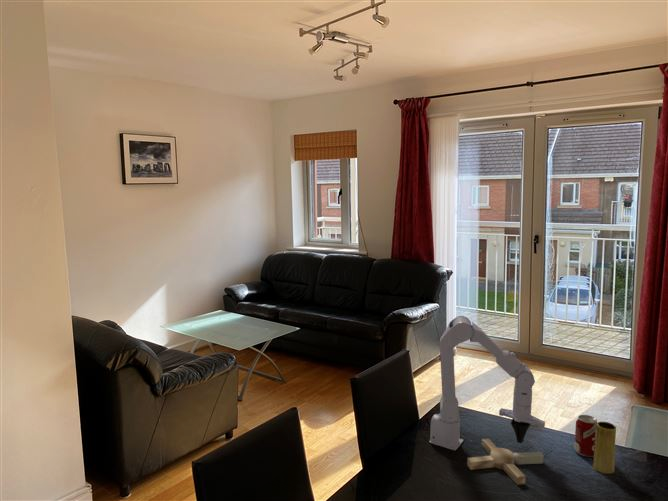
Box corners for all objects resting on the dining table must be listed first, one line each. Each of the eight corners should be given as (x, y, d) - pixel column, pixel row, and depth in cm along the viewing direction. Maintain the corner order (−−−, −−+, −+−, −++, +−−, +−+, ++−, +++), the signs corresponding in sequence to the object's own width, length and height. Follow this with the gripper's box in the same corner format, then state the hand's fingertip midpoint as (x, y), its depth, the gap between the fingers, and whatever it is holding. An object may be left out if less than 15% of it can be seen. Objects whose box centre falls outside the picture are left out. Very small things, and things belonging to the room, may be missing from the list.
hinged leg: (514, 464, 157) (515, 456, 157) (511, 460, 160) (511, 452, 159) (543, 463, 158) (543, 455, 157) (539, 459, 160) (539, 451, 160)
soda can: (574, 456, 162) (577, 421, 160) (573, 446, 168) (575, 412, 167) (598, 460, 159) (600, 425, 158) (595, 450, 166) (598, 415, 164)
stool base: (486, 488, 145) (486, 477, 144) (454, 449, 166) (454, 439, 166) (532, 483, 147) (532, 472, 147) (494, 444, 169) (494, 435, 169)
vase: (617, 475, 151) (620, 431, 149) (595, 473, 152) (598, 429, 150) (610, 464, 157) (613, 421, 155) (589, 462, 158) (592, 419, 156)
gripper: (496, 400, 166) (494, 438, 167) (540, 413, 156) (537, 454, 158) (504, 393, 171) (502, 431, 173) (548, 406, 161) (545, 445, 163)
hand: (520, 441), depth 166 cm, fingers closed
